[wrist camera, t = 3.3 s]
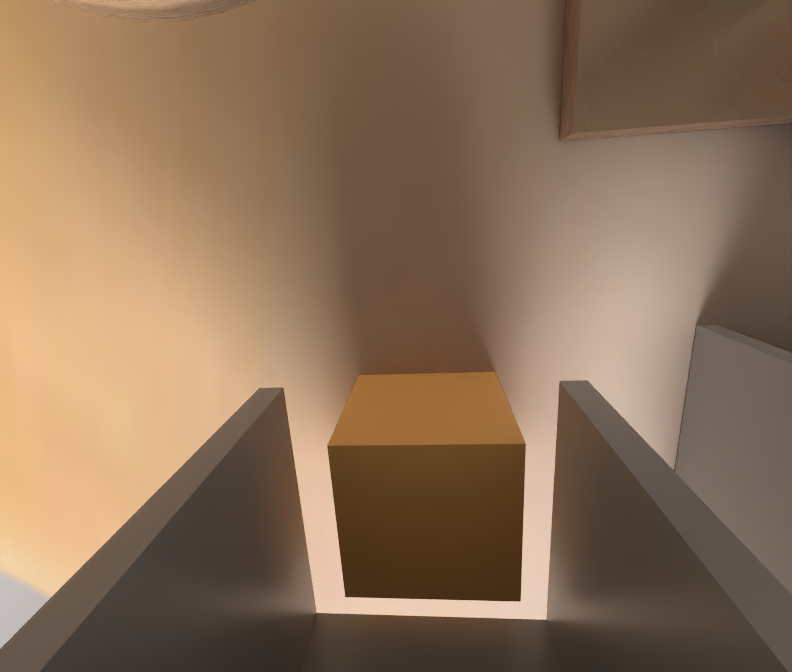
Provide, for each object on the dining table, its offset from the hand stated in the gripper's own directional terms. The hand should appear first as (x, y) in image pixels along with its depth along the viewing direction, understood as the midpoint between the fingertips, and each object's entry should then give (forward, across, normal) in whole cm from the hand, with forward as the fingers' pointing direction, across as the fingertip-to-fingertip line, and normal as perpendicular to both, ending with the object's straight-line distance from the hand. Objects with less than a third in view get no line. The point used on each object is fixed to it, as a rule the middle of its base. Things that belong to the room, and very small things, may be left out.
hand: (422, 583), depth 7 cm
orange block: (+6, 0, 0) cm, 6 cm away
